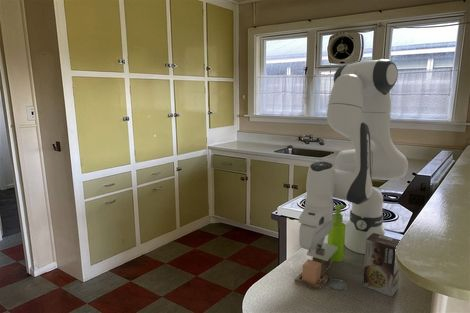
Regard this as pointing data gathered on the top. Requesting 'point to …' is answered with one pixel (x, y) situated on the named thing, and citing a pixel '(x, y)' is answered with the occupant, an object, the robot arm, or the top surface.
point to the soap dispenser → (337, 234)
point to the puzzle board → (323, 278)
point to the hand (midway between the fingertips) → (316, 251)
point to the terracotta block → (311, 271)
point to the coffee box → (381, 264)
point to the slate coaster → (337, 284)
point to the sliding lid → (324, 252)
